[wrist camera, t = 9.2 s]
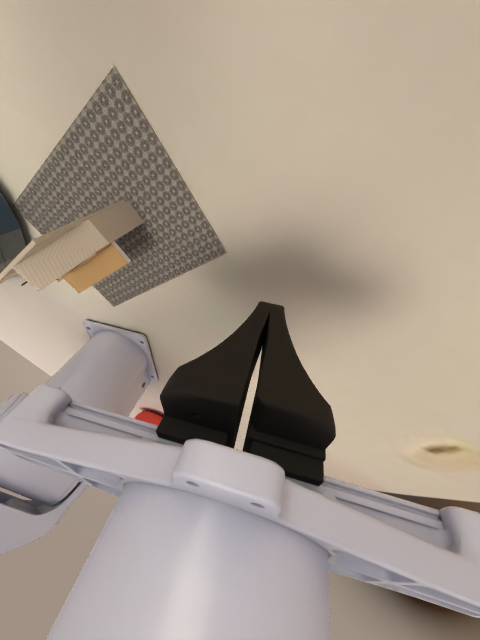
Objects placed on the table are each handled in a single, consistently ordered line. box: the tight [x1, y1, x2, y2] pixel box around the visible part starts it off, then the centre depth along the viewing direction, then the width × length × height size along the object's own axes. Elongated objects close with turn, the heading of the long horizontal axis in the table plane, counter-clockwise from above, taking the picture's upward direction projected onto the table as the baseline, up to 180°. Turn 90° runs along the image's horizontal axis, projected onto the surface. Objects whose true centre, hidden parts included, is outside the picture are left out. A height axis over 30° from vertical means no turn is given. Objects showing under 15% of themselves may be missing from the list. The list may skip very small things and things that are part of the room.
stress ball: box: [135, 411, 163, 426], centre depth 41 cm, size 5×9×6 cm, turn 41°
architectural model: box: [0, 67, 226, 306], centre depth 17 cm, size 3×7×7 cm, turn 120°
